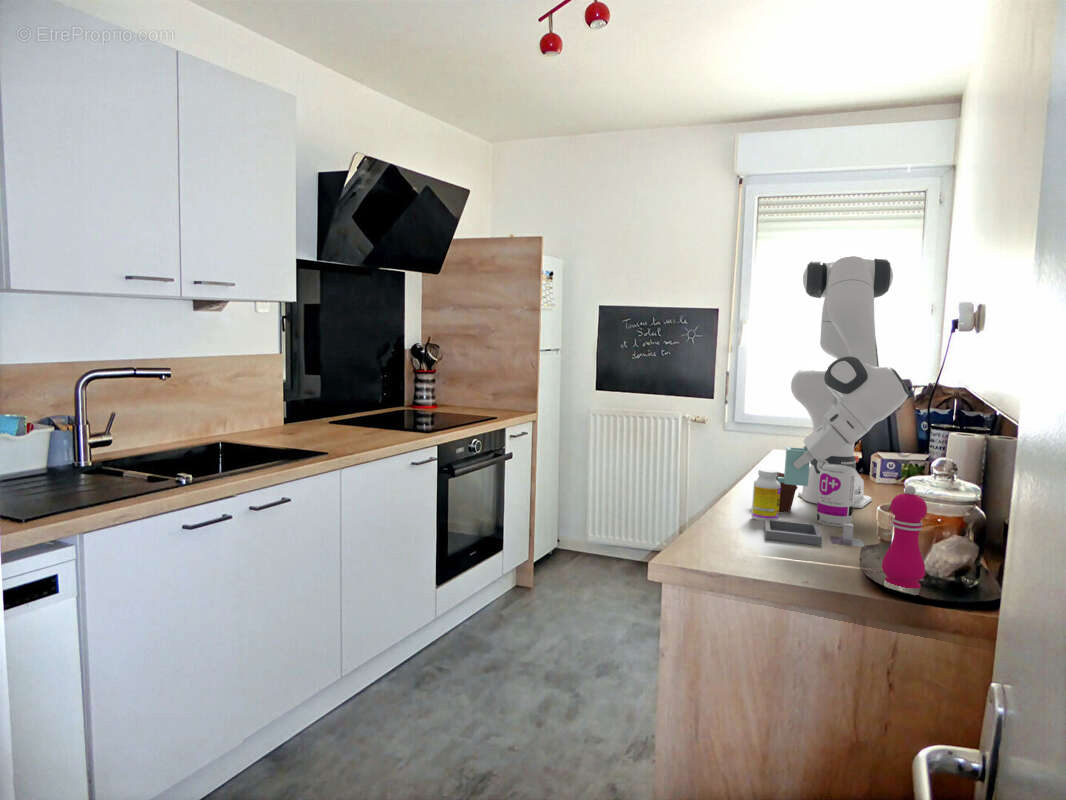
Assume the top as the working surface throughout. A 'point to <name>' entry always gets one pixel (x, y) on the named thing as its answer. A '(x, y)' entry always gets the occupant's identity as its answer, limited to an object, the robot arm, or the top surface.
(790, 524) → the tray
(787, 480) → the collar
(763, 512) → the supplement bottle
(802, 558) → the top surface
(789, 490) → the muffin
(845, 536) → the square peg base
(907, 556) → the pepper mill
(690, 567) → the top surface
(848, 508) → the supplement can
